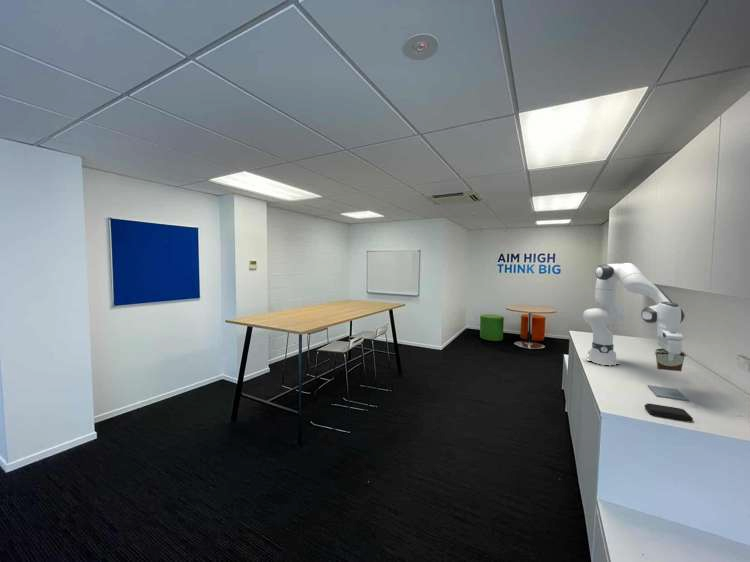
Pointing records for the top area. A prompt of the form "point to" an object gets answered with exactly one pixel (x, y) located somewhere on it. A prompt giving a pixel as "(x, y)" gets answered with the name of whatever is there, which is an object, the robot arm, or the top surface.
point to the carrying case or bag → (668, 412)
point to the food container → (667, 364)
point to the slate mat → (667, 393)
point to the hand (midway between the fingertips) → (667, 358)
